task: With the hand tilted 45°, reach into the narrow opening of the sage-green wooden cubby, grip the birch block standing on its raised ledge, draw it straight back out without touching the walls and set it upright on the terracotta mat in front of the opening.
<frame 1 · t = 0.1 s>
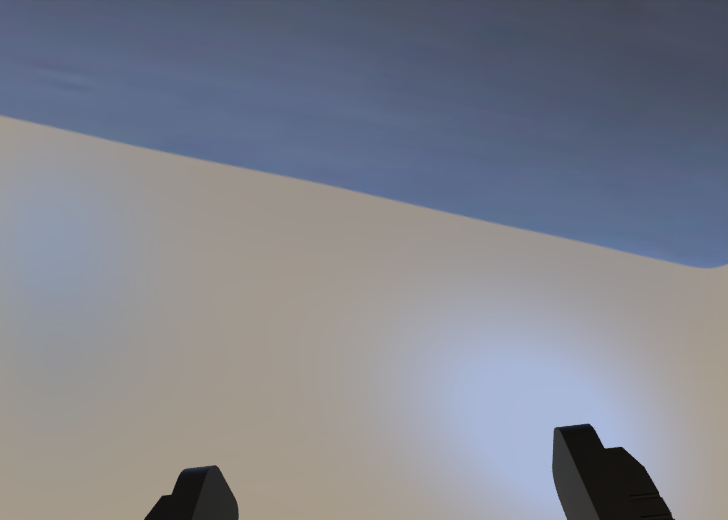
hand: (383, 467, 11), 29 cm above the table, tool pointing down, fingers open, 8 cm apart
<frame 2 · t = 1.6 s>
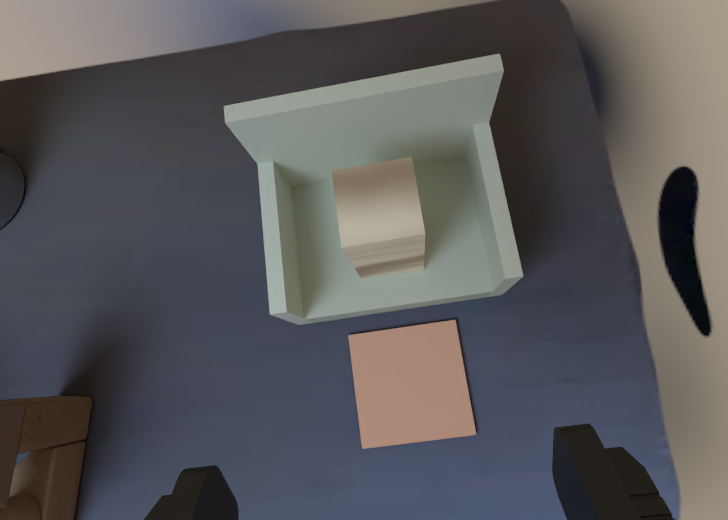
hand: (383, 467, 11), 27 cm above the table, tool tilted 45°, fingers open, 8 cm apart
mat: (409, 382, 37), on the table
birch block: (387, 244, 37), point 3 cm above the table, touching cubby
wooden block: (67, 460, 39), on the table
cubby: (390, 253, 40), on the table
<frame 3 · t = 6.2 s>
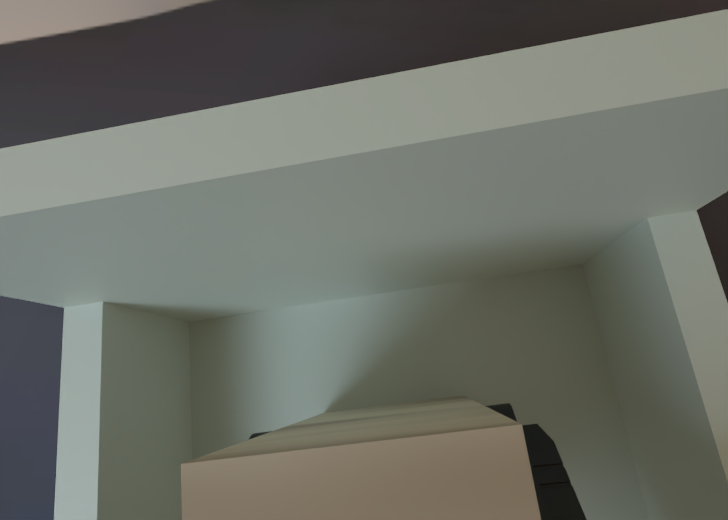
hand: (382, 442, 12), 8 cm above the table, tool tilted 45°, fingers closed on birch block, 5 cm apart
birch block: (403, 480, 16), point 3 cm above the table, touching cubby, gripper
cubby: (406, 464, 18), on the table
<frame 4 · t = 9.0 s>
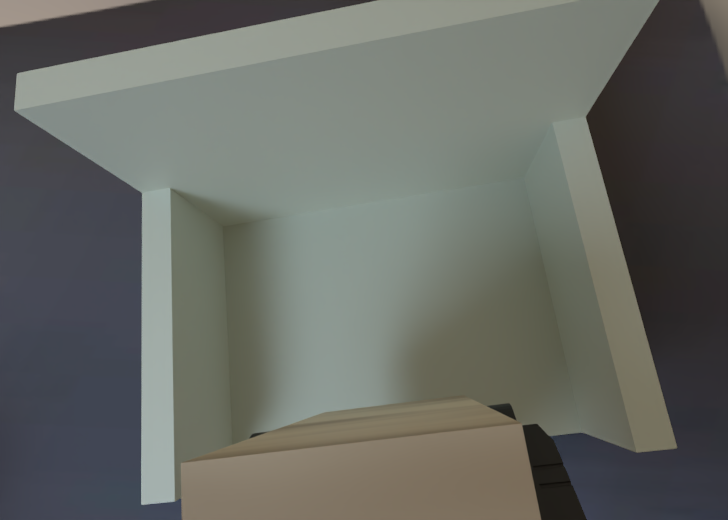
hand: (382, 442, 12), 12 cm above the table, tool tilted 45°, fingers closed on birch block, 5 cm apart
birch block: (403, 480, 16), point 7 cm above the table, touching gripper
cubby: (390, 339, 24), on the table
when the fingers open (6 cm above the table, at t = 11.8 s): birch block drops 1 cm, resting on mat.
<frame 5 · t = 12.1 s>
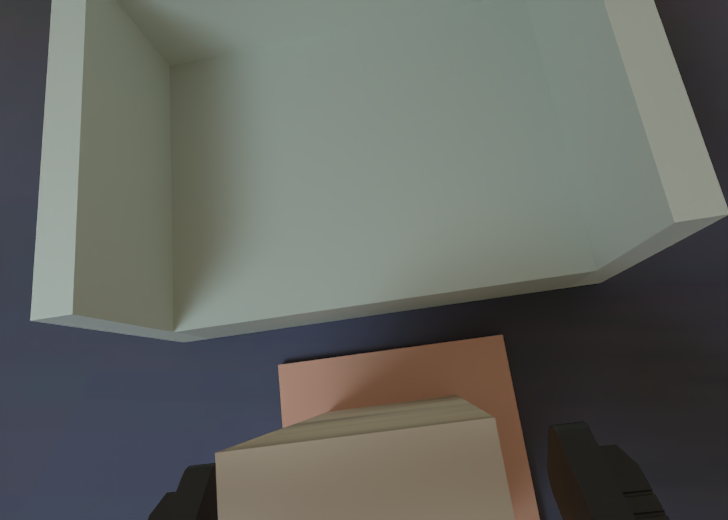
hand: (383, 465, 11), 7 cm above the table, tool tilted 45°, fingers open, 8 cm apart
mat: (404, 470, 17), on the table
birch block: (401, 473, 17), resting on mat
cubby: (368, 202, 20), on the table
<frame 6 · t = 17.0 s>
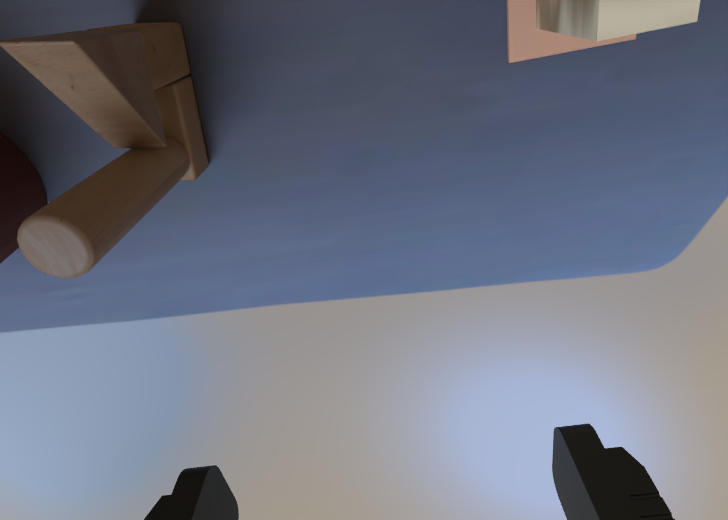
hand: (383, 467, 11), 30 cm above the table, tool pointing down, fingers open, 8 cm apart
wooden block: (175, 99, 36), on the table
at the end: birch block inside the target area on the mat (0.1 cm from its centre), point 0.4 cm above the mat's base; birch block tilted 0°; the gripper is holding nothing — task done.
